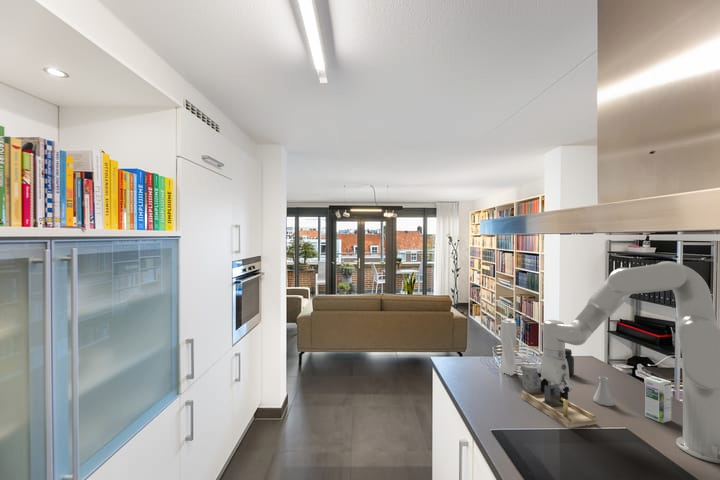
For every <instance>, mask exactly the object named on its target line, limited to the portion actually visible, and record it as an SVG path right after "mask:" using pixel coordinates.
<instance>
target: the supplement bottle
mask: <svg viewBox="0 0 720 480" xmlns="http://www.w3.org/2000/svg"><path fill="white" fill-rule="evenodd" d="M572 351H573V350H572V349H570V348H565V354H566V357H565V358H566V359H567V363H568V368H569V377H574V375H575V358H574V356H573V355H572V354H573V353H572Z"/></svg>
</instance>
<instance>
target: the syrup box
mask: <svg viewBox="0 0 720 480" xmlns="http://www.w3.org/2000/svg"><path fill="white" fill-rule="evenodd" d="M644 379H645V380H644V382H645V383H644V385H645V387H644V390H645V391H644V392H645V395H644V396H645V397H644V398H645V399H644V401H645V402H644V405H645V406H644V407H645V408H644V409H645V410H644V416H645V417H646V418H648V419H652V420H654V421H656V422H659V423H661V424H664V423H667V422H671V421H672V381H671V380H666V379H664V378H660V377H657V376H655V375H654V376H653V375H652V376H651V375H650V376H648V377H645V378H644Z"/></svg>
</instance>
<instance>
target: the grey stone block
mask: <svg viewBox="0 0 720 480" xmlns="http://www.w3.org/2000/svg"><path fill="white" fill-rule="evenodd" d="M537 367H541V363H537V362H536V363H535V364H526V365H525V364H521V365H520V370H521V372H522V374H521V375H522V384H521V385H522V388H523V387H529V386H538V385H541V381H540V380H539V379H540V378H539V376H538V372H537ZM547 381H548V380H547ZM548 385H552V382H550V381H548Z"/></svg>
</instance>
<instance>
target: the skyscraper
mask: <svg viewBox="0 0 720 480" xmlns="http://www.w3.org/2000/svg"><path fill="white" fill-rule="evenodd" d="M517 332H518V331H517V322H516V320H514V319H513V318H512V319H510V318H505V317H504V316H503V315H500V342H501V344H500V345H501V348H502V351H501V358H500V359H501V360H500V361H501V362H500V373H501V374H504V373H505V374H504V375H508V376H513V375H515V374H514V371H516V372H517V362H516V354H515V347H516V342H517Z"/></svg>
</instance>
